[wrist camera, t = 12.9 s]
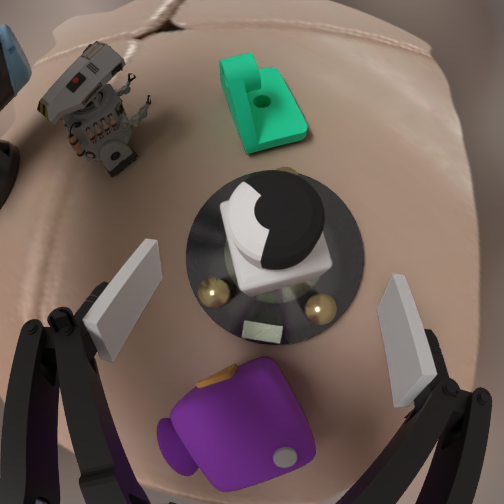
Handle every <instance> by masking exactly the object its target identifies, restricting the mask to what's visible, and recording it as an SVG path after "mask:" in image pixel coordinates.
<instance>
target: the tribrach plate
mask: <svg viewBox="0 0 504 504" xmlns="http://www.w3.org/2000/svg"><path fill="white" fill-rule="evenodd" d="M276 170H280V171H286V172H290V173H293V174H295V175H298V176H300V177H301V178H303V179H305V180H306V181H307V182H309V183H310V184H311V185H312V186H313V187H314V189H315V190H316V191H317V193H318V194H319V196H320V198H321V200H322V203H323V207H324V211H325V224H324V228H323V234H324V237H325V240H326V243H327V247H328V250H329V253H330V257H331V260H332V267H331V268H330V269H329V270H327V271H326V272H325V273H324V274H322V275H321V276H320V277H319V278H317V279H314V280H311V281H307V282H303V283H300V284H296V285H292V286H289V287H285V288H281V289H277V290H273V291H270V292H266V293H262V294H258V295H254V296H248V295H246V294H245V293H244V292H242V291H241V290H240V289H239V286H238V282H237V278H236V274H235V270H234V266H233V261H232V257H231V253H230V249H229V245H228V240H227V236H226V232H225V227H224V223H223V219H222V214H221V210H220V204H221V203H222V202H224V201H228V200H229V199H230V197H231V195H232V194H233V192H234V190H235V189H236V188H237V187H238V186H239V185H240V184H241V183H242V182H243V181H244V180H246V179H247V178H249V177H251V176H252V175H255V174H257V173H260V172H264V171H260V172H254V173H251V174H247V175H244V176H242V177H239V178H237V179H235V180H233V181H231V182H229V183H228V184H226V185H224V186H223V187H222V188H221V189H219V190H218V191H217V192H215V193H214V194H213V195H212V196H211V197H210V198H209V199H208V200H207V202H206V203H205V204H204V206H203V207H202V208H201V210H200V211H199V213H198V215H197V216H196V218H195V220H194V223H193V225H192V227H191V230H190V234H189V237H188V242H187V249H186V265H187V273H188V277H189V281H190V285H191V287H192V290H193V292H194V294H195V296H196V298H197V300H198V302H199V303H200V305H201V306H202V308H203V309H204V310H205V312H206V313H207V314H208V315H209V316H210V317H211V318H212V319H213V320H214V321H215V322H216V323H217V324H218V325H220V326H221V327H222V328H224V329H225V330H226V331H228V332H230V333H232V334H234V335H235V336H237V337H240V338H242V339H245V340H248V341H251V342H256V343H260V344H270V345H278V344H289V343H294V342H299V341H302V340H305V339H308V338H310V337H312V336H314V335H316V334H318V333H320V332H322V331H323V330H325V329H326V328H328V327H329V326H330V325H332V324H333V323H334V322H335V321H336V320H337V319H338V318H339V317H340V316H341V315H342V314H343V313H344V311H345V310H346V309H347V308H348V306H349V304H350V303H351V301H352V300H353V298H354V296H355V294H356V291H357V289H358V286H359V283H360V280H361V276H362V270H363V256H364V254H363V244H362V239H361V235H360V231H359V229H358V226H357V224H356V221H355V219H354V217H353V216H352V214H351V212H350V210H349V209H348V208H347V206H346V205H345V204H344V202H343V201H342V200H341V199H340V198H339V197H338V196H337V195H336V194H335V193H334V192H333V191H332V190H330V189H329V188H328V187H326V186H325V185H323V184H322V183H320V182H319V181H317V180H314V179H312V178H310V177H308V176H305V175H302V174H299V173H297V172H296V171H295V170H294V169H292V168H289V167H281V168H278V169H276ZM268 171H271V170H268Z"/></svg>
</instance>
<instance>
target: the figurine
mask: <svg viewBox="0 0 504 504" xmlns="http://www.w3.org/2000/svg"><path fill="white" fill-rule="evenodd" d="M125 65H126V64H125V62H124V59H123V58H122V57H121V56H120V55H119V54H118V53H117V52H115V51H114V50H113V49H112V48H111V47H110V46H108V45H107V44H105V43H102V42H98V41H96V42H95V43H94V44H90V45H89V46H88V47H87V48H86V49H85V50H84V52H83V54H82V55H81V56H80V57H79V58H78V59H77V60H76V61H75V62H74V63H73V64H72V65H71V66H70V67H69V68H68V69H67V70H66V71H65V72H64V73H63V74H62V75H61V77H60V78H59V79H58V80H57V81H56V82H55V83H54V84H53V85H52V87H51V88H50V89H49V90H48V91H47V92H46V94H45V95H44V96H43V97H42V99H41V100H40V101H39V104H38V108H37V110H38V111H39V112H40V113H41V114H43V115H44V116H45V117H46V118H47V119H48V120H49V121H50V122H52V123H53V124H54V125H56V123H57V122H58V121H59V120H60V118H62V121H63V123H64V124H65V126H66V127H68V130H69V131H70V135H69V136H68V140H69V142H70V144H71V145H72V146H73V149H74V150H75V151H76V152H77V155H78V156H79V157H80V156H83V155H84V156H85V157H86V159H87V160H88V161H101V160H102V162H103V164H104V166H105V167H106V169H107V170H108V172H109V174H110V175H111V177H113V176H114V175H117V174H118V172H119V171H122V170H123V168H124V167H125V166H126V165H129V164H131V161H134V160H136V157H138V155H137V154H136V152H135V151H134V150H133V149H132V148H129V147H128V146H127V143H128V141H129V139H130V137H131V134H132V130H131V127H130V126H133V127H137V126H139V122H140V121H141V120H142V119H143V118H146V116H147V108H148V105H149V104H151V98H150V103H149V96H150V95H148V99H147V102H146V104H145V106H144V108H140V110H139V113H138V114H137V115H136V116H133V117H132V120H128V119H127V116H126V113H125V111H124V110H125V109H124V108H123V105H122V100H121V98H120V97H119V96H121V95H123V94H128V93H129V92H130V90H131V88H130V87H129V85H130V82H131V81H132V80H133V79H135V78H136V77H135V75H134V74H133V75H134V78H132V79H130V75H131V74H130V73H129V74H128V81H127V83H126V86H123V87H122V88H121V89H119V90H114V89H113V88H112V86H111V85H110V84H107V83H108V81H109V80H110V79H111V78H112V77H113V76H114V75H115V74H117V73H118V72H119V71H120V70H122V69H123V67H124V66H125Z"/></svg>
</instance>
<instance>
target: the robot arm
mask: <svg viewBox="0 0 504 504" xmlns="http://www.w3.org/2000/svg"><path fill="white" fill-rule="evenodd" d="M31 73H32V71H31V67H30V64H29V62H28V60H27V58H26V56H25V54H24V52H23V50H22V48H21V46H20V44H19V42H18V40H17V39H16V37H15V35H14V33H13V32H12V30H11V29H10V27H9V26H7V25H6V24H3V25H2V26H0V111H1V110H2V109H3V108H4V107H5V106H6V105H7V104H8V103H9V102H10V101H11V100H12V99H13V98H14V97H16V95H17V93H18V92H19V91H20V90H21V89H22V88H23V87H24V86H25V84H26V83H27V82H28V81H29V79H30V77H31ZM18 165H19V152H18V149H17V148H16V147H15V146H14V145H12V144H11V143H10V142H8V141H5V140H0V207H1V206H2V205H3V203H4V201H5V200H6V198H7V196H8V194H9V192H10V190H11V188H12V186H13V183H14V180H15V177H16V174H17V170H18ZM162 279H163V277H162V270H161V263H160V256H159V248H158V240H153V239H145V240H144V241H143V242H142V243H141V245H140V246H139V247H138V248H137V249H136V251H135V252H134V253H133V254H132V255H131V257H130V258H129V259H128V260H127V262H126V263H125V264H124V265H123V267H122V268H121V269H120V270H119V272H118V273H117V274H116V275H115V277H114V278H113V279H112V281H111V282H110V283H107V282H103V283H101V284H100V285H98V286H97V287H96V288H95V289H94V290H93V291H92V293H91V294H90V295H89V296H88V298H87V299H86V301H85V302H84V303H83V304H82V306H81V307H80V308H79V310H78V311H77V312H76V314H75V315H73V313H72V311H71V310H70V309H69V308H67V307H59V308H57V309H54V310H53V311H52V312H51V313H50V314H49V316H48V319H47V321H48V323H49V325H50V327H44V326H43V325H42V323H41V321H39V320H38V319H32V320H29V321H28V322H26V323H25V324H24V325H23V327H22V329H21V332H20V336H19V339H18V343H17V347H16V351H15V355H14V359H13V364H12V368H11V373H10V378H9V384H8V389H7V395H6V402H5V409H4V417H3V426H2V439H1V461H0V462H1V464H0V465H1V466H0V474H1V475H0V476H1V477H0V504H60V485H59V471H58V449H57V447H58V446H57V428H58V402H59V388H60V390H61V396H62V401H63V406H64V411H65V416H66V421H67V425H68V429H69V433H70V437H71V441H72V445H73V449H74V452H75V455H76V459H77V462H78V465H79V468H80V472H81V477H80V478H79V485H80V489H81V491H82V494H83V497H84V499H85V502H86V504H151V503H150V501H149V499H148V498H147V495H146V494H145V492H144V491H143V489H142V487H141V486H140V485H139V483H138V482H137V480H136V478H135V475H134V473H133V471H132V469H131V466H130V464H129V462H128V459H127V457H126V454H125V452H124V449H123V447H122V444H121V442H120V439H119V436H118V433H117V431H116V428H115V425H114V422H113V419H112V416H111V413H110V410H109V407H108V404H107V400H106V397H105V394H104V390H103V387H102V383H101V379H100V375H99V372H98V368H97V364H96V360H95V358H94V356H95V354H96V353H97V352H98V354H99V356H100V358H101V359H104V360H107V361H110V362H113V363H114V362H115V360H116V358H117V356H118V354H119V352H120V351H121V349H122V347H123V345H124V343H125V342H126V340H127V338H128V336H129V335H130V333H131V331H132V329H133V328H134V326H135V324H136V322H137V321H138V319H139V317H140V315H141V314H142V312H143V310H144V309H145V307H146V305H147V304H148V302H149V300H150V299H151V297H152V295H153V294H154V292H155V290H156V289H157V287H158V285H159V284H160V282H161V280H162ZM377 313H378V318H379V322H380V327H381V332H382V337H383V342H384V347H385V353H386V358H387V364H388V370H389V376H390V383H391V390H392V397H393V405H394V407H408V406H409V405H410V404H411V403H412V402H413V401H414V405H415V408H414V409H413V410H412V411H411V412H410V413H408V414H407V415H406V416H405V417H404V418H406V420H405V421H404V423H403V424H402V426H401V427H400V428H399V430H398V431H397V433H396V434H395V435H394V437H393V438H392V439H391V441H390V442H389V443H388V445H387V446H386V447H385V449H384V450H383V451H382V452H381V454H380V455H379V456H378V457H377V459H376V460H375V461H374V462H373V464H372V465H371V466H370V467H369V468H368V469H367V471H366V472H365V473H364V474H363V475H362V476H361V477H360V479H359V480H358V481H357V482H356V483H355V484H354V485H353V486H352V487H351V488H350V489H349V490H348V491H347V493H346V494H345V495H344V496H343V497H342V498H341V499H340V500H339V501H338V502H337V503H336V504H396V503H397V501H398V500H399V498H400V497H401V496H402V495H403V493H404V492H405V491H406V489H407V488H408V486H409V485H410V484H411V482H412V481H413V479H414V478H415V476H416V475H417V473H418V472H419V470H420V469H421V467H422V466H423V464H424V463H425V461H426V459H427V458H428V456H429V454H430V453H431V451H432V449H433V448H434V446H435V444H436V442H437V441H438V443H437V446H436V450H435V453H434V456H433V459H432V462H431V465H430V468H429V471H428V474H427V476H426V479H425V481H424V484H423V487H422V489H421V492H420V494H419V496H418V499H417V501H416V503H415V504H472V503H473V499H474V496H475V493H476V489H477V486H478V482H479V478H480V474H481V470H482V466H483V461H484V456H485V451H486V446H487V440H488V434H489V427H490V419H491V410H492V397H491V395H490V393H489V392H488V391H487V390H486V389H484V388H481V387H480V388H477V389H476V390H475V391H474V392H473V393H471V392H467V391H464V390H461V389H460V387H459V386H458V384H457V383H456V382H455V381H454V380H453V379H451V378H449V375H448V372H447V368H446V365H445V362H444V358H443V355H442V354H441V353H442V352H441V349H440V347H439V343H438V340H437V337H436V336H435V334H434V333H433V332H432V330H428V329H424V328H423V325H422V322H421V319H420V316H419V313H418V310H417V308H416V305H415V302H414V299H413V297H412V294H411V291H410V289H409V286H408V284H407V281H406V279H405V276H404V275H400V274H392V275H391V278H390V280H389V283H388V285H387V288H386V290H385V292H384V295H383V297H382V299H381V301H380V304H379V306H378V308H377ZM438 439H439V440H438ZM169 504H176V503H172V502H170V503H169Z"/></svg>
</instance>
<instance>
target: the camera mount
mask: <svg viewBox="0 0 504 504" xmlns="http://www.w3.org/2000/svg"><path fill="white" fill-rule="evenodd" d="M220 80H221V85H222V88H223V91H224V93H225V96H226V99H227V102H228V104H229V109H230V112H231V114H232V117H233V120H234V123H235V126H236V128H237V131H238V134H239V135H240V138H241V141H242V144H243V146H244V149H245V152H246V154H250V153H254V152H257V151H261V150H264V149H268V148H272V147H276V146H280V145H284V144H288V143H292V142H296V141H300V140H303V139H304V138H305V137H306V134H307V127H308V126H307V123H306V121H305V119H304V117H303V115H302V113H301V111H300V109H299V108H298V106H297V104H296V102H295V100H294V98H293V96H292V94H291V92H290V91H289V89H288V87H287V85H286V83H285V82H284V80H283V78H282V76H281V74H280V73H279V71H278V70H277V69H276V68H273V67H269V68H264V69H258V66H257V63H256V60H255V58H254V56H253V54H252V53H247V54H242V55H238V56H234V57H230V58H226V59H222V60H220ZM260 107H265V108H260Z"/></svg>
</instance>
